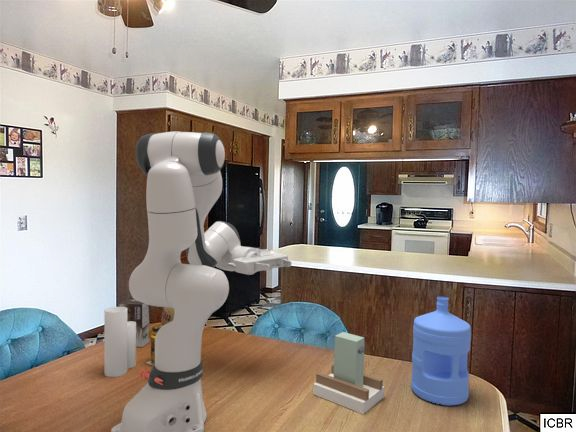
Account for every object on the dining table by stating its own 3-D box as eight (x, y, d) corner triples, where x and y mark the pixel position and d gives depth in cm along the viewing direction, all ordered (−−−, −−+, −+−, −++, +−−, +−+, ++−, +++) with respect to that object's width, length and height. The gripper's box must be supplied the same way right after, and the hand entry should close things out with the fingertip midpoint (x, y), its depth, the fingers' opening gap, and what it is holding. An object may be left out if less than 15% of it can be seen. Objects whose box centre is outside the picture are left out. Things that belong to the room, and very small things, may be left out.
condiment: (145, 363, 133) (145, 328, 132) (161, 354, 141) (161, 320, 140) (163, 367, 130) (163, 330, 130) (178, 357, 138) (179, 323, 138)
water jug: (400, 383, 122) (403, 292, 121) (445, 378, 126) (449, 290, 125) (431, 410, 107) (435, 306, 106) (481, 403, 111) (485, 303, 110)
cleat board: (363, 414, 104) (364, 393, 104) (313, 394, 114) (313, 375, 114) (384, 397, 114) (384, 378, 113) (336, 380, 124) (336, 362, 123)
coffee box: (150, 341, 153) (150, 299, 153) (142, 347, 147) (142, 304, 146) (127, 340, 154) (127, 298, 154) (118, 346, 148) (118, 302, 147)
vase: (120, 377, 122) (121, 313, 121) (98, 376, 123) (98, 311, 122) (138, 362, 133) (138, 303, 133) (118, 361, 134) (118, 302, 133)
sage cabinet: (357, 393, 109) (359, 342, 109) (333, 384, 114) (334, 335, 114) (365, 387, 113) (367, 338, 112) (341, 378, 118) (343, 331, 117)
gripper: (224, 254, 123) (257, 259, 114) (268, 248, 139) (300, 252, 130) (224, 274, 123) (256, 281, 115) (268, 266, 139) (300, 271, 131)
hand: (280, 265), depth 123 cm, fingers open, 8 cm apart
